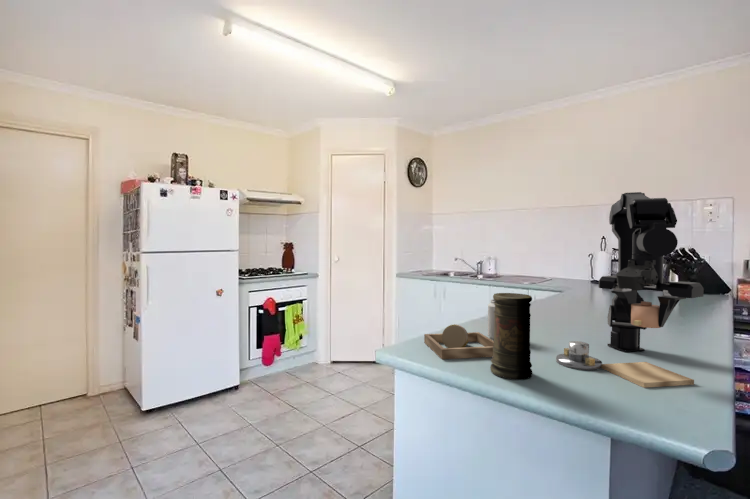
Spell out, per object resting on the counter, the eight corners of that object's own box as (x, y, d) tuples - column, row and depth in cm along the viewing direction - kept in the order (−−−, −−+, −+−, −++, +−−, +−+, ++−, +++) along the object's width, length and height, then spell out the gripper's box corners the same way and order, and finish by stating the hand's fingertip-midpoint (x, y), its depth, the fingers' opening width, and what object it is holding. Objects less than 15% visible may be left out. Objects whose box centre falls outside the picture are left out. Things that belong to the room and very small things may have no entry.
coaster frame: (478, 340, 116) (478, 332, 116) (504, 356, 100) (504, 346, 100) (424, 342, 113) (424, 334, 113) (441, 359, 97) (441, 349, 97)
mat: (645, 365, 93) (645, 361, 93) (694, 384, 81) (694, 379, 81) (601, 368, 91) (601, 364, 91) (643, 387, 79) (644, 382, 79)
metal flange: (582, 356, 100) (583, 337, 100) (612, 369, 90) (612, 348, 90) (547, 358, 99) (548, 338, 98) (573, 371, 89) (573, 350, 89)
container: (486, 366, 92) (486, 292, 92) (523, 366, 92) (524, 292, 91) (496, 380, 83) (497, 297, 83) (538, 380, 83) (539, 298, 82)
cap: (669, 325, 85) (670, 302, 85) (650, 329, 81) (650, 305, 81) (642, 320, 90) (642, 298, 90) (622, 324, 86) (622, 301, 86)
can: (509, 336, 121) (510, 298, 121) (516, 342, 114) (516, 302, 114) (485, 335, 122) (485, 298, 122) (490, 341, 115) (490, 301, 114)
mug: (474, 345, 112) (477, 319, 107) (460, 367, 105) (463, 340, 100) (450, 335, 116) (452, 310, 111) (436, 356, 109) (437, 330, 104)
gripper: (585, 253, 90) (583, 320, 90) (678, 257, 73) (676, 338, 74) (612, 253, 95) (611, 315, 95) (705, 256, 78) (703, 331, 79)
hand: (645, 324), depth 86 cm, fingers closed on cap, 6 cm apart
